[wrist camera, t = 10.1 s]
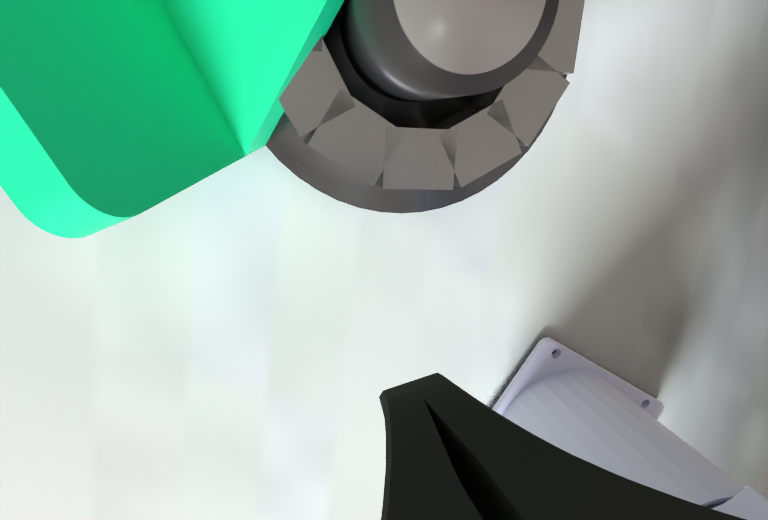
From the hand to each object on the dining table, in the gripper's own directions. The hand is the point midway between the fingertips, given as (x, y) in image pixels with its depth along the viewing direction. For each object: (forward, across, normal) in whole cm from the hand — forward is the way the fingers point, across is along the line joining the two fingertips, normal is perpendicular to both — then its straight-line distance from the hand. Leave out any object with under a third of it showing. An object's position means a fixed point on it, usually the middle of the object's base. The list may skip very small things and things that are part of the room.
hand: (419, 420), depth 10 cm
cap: (+9, -4, -9) cm, 13 cm away
